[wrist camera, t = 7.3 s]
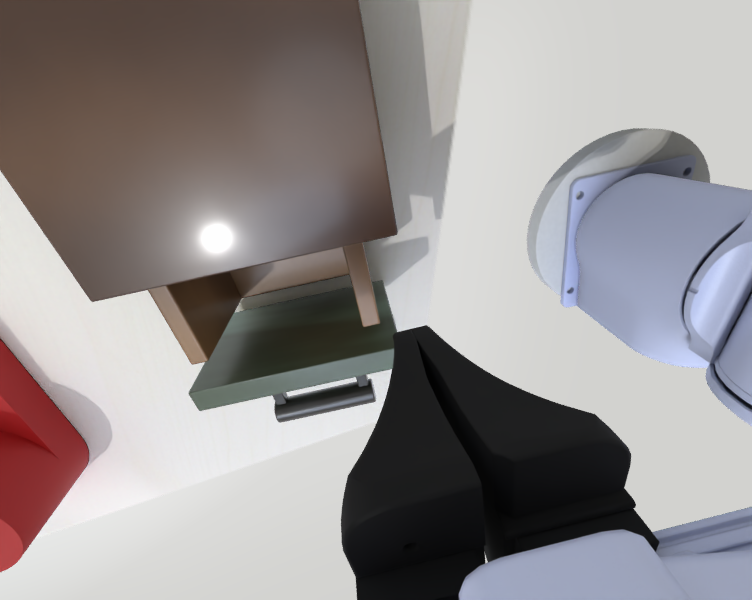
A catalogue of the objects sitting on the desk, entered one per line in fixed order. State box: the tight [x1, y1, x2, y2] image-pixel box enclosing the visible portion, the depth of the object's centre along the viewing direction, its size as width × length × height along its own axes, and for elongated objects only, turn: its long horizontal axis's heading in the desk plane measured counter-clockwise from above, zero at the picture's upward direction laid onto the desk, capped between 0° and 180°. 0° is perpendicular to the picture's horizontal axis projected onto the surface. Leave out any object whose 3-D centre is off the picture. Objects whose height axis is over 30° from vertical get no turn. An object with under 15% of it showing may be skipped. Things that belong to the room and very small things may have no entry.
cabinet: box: [0, 0, 397, 302], centre depth 13 cm, size 14×11×9 cm
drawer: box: [148, 242, 397, 422], centre depth 17 cm, size 17×10×7 cm, turn 11°
